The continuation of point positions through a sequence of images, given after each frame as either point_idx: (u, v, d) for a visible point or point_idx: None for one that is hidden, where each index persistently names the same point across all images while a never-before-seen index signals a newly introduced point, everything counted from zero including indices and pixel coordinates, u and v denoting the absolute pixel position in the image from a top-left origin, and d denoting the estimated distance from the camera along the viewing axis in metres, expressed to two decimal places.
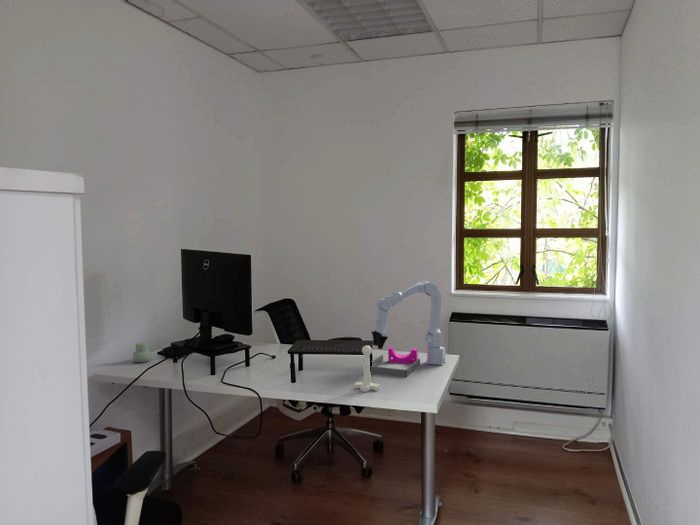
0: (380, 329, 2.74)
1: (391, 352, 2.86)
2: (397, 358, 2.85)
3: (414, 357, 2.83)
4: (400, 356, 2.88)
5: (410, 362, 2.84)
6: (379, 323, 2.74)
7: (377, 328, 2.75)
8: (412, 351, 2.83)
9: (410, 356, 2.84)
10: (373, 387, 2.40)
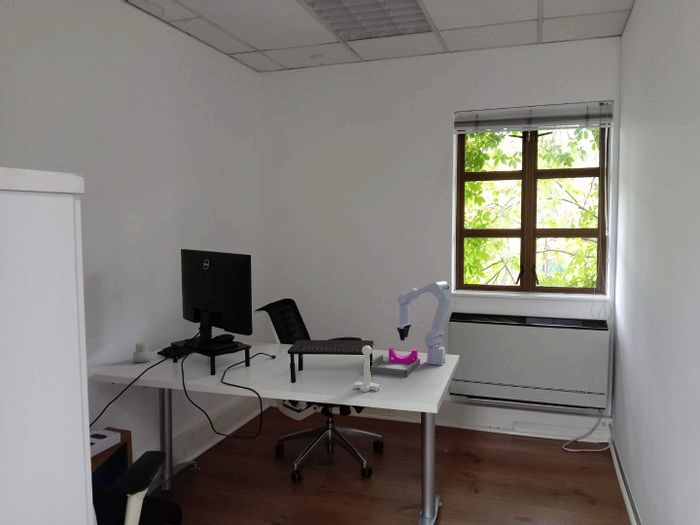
0: (401, 322, 2.96)
1: (391, 352, 2.85)
2: (397, 358, 2.85)
3: (415, 357, 2.82)
4: (400, 356, 2.87)
5: (411, 362, 2.83)
6: (400, 316, 2.97)
7: (399, 321, 2.97)
8: (413, 351, 2.82)
9: (411, 356, 2.83)
10: (373, 387, 2.40)
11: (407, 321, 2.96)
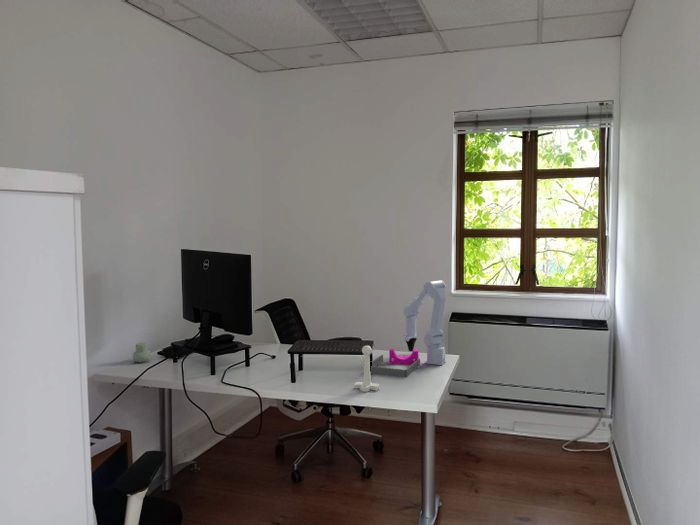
0: (408, 334, 2.98)
1: (392, 353, 2.83)
2: (398, 359, 2.83)
3: (416, 358, 2.81)
4: (401, 357, 2.85)
5: (412, 363, 2.82)
6: (406, 329, 2.99)
7: (406, 333, 2.99)
8: (414, 352, 2.81)
9: (412, 357, 2.81)
10: (373, 387, 2.40)
11: (413, 333, 2.98)
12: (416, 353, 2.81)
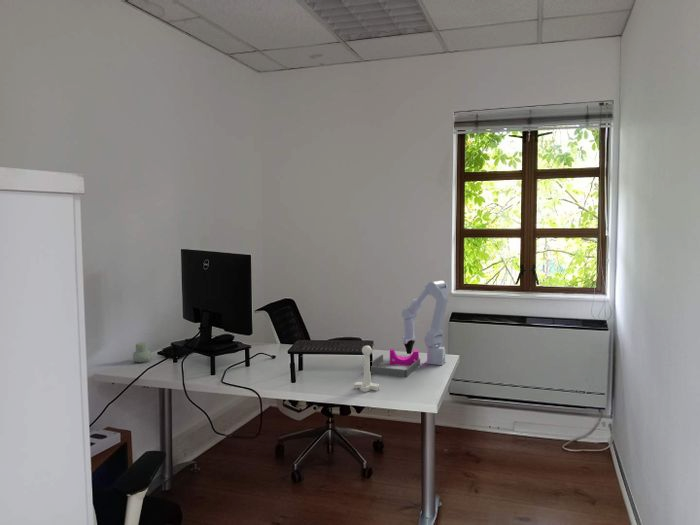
0: (406, 337, 2.95)
1: (393, 354, 2.82)
2: (399, 360, 2.82)
3: (416, 358, 2.80)
4: (401, 358, 2.84)
5: None
6: (404, 331, 2.95)
7: (404, 336, 2.96)
8: (414, 352, 2.80)
9: (412, 358, 2.80)
10: (373, 387, 2.40)
11: (411, 336, 2.95)
12: (417, 354, 2.80)
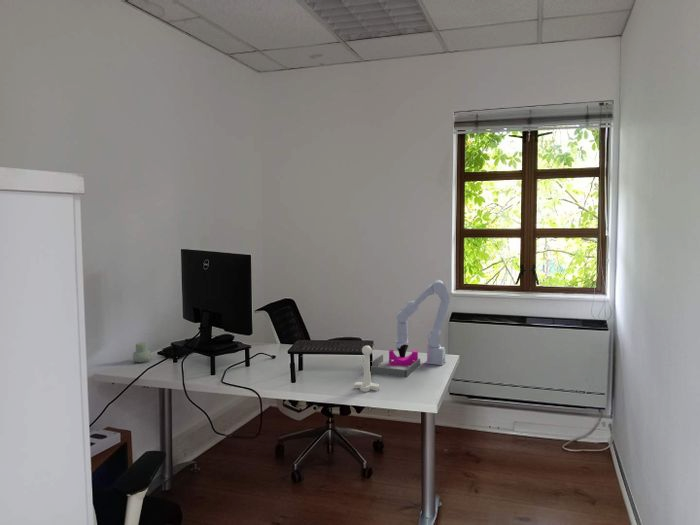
0: (399, 341, 2.85)
1: (392, 354, 2.80)
2: (398, 360, 2.80)
3: (416, 359, 2.79)
4: (400, 358, 2.83)
5: (411, 364, 2.80)
6: (397, 335, 2.85)
7: (397, 340, 2.86)
8: (413, 353, 2.79)
9: (411, 358, 2.79)
10: (373, 387, 2.40)
11: (405, 340, 2.84)
12: (416, 354, 2.79)
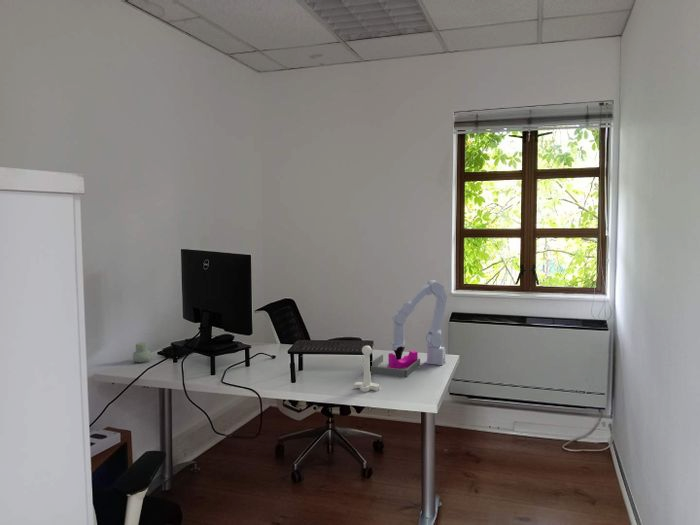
0: (395, 343, 2.80)
1: (394, 358, 2.73)
2: (400, 363, 2.75)
3: (416, 359, 2.78)
4: (399, 361, 2.78)
5: None
6: (394, 337, 2.81)
7: (393, 342, 2.81)
8: (414, 353, 2.77)
9: (412, 359, 2.77)
10: (373, 387, 2.40)
11: (401, 342, 2.80)
12: (416, 354, 2.78)
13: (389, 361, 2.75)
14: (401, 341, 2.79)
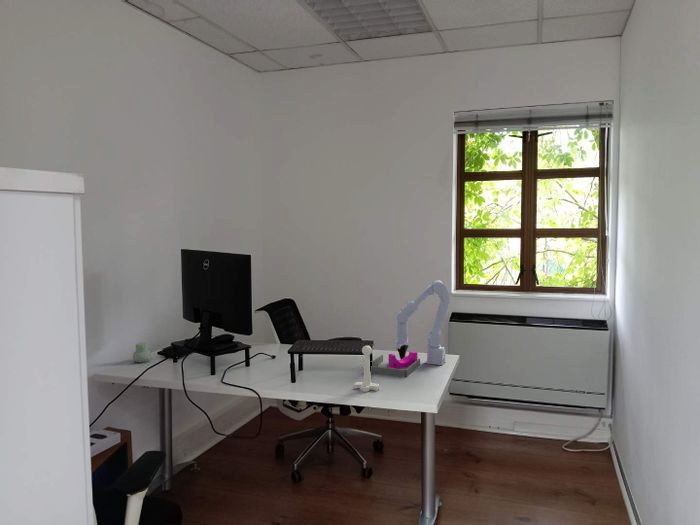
0: (399, 341, 2.84)
1: (394, 358, 2.73)
2: (400, 363, 2.75)
3: (415, 359, 2.78)
4: (399, 361, 2.78)
5: None
6: (397, 336, 2.85)
7: (397, 340, 2.86)
8: (414, 354, 2.77)
9: (412, 359, 2.77)
10: (373, 387, 2.40)
11: (405, 340, 2.84)
12: (416, 354, 2.78)
13: (389, 362, 2.75)
14: (405, 339, 2.84)
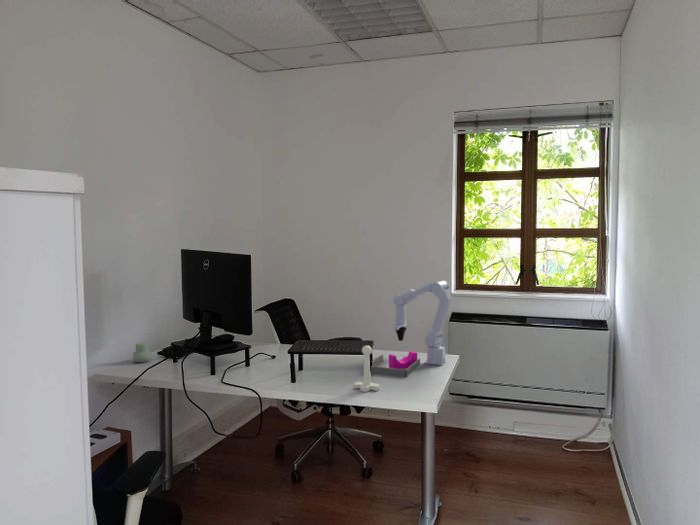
0: (397, 323, 2.94)
1: (395, 359, 2.72)
2: (400, 364, 2.74)
3: (415, 360, 2.78)
4: (399, 361, 2.77)
5: None
6: (396, 318, 2.94)
7: (395, 323, 2.95)
8: (414, 354, 2.77)
9: (412, 359, 2.77)
10: (373, 387, 2.40)
11: (403, 322, 2.93)
12: (416, 354, 2.78)
13: (389, 362, 2.74)
14: (403, 321, 2.93)
